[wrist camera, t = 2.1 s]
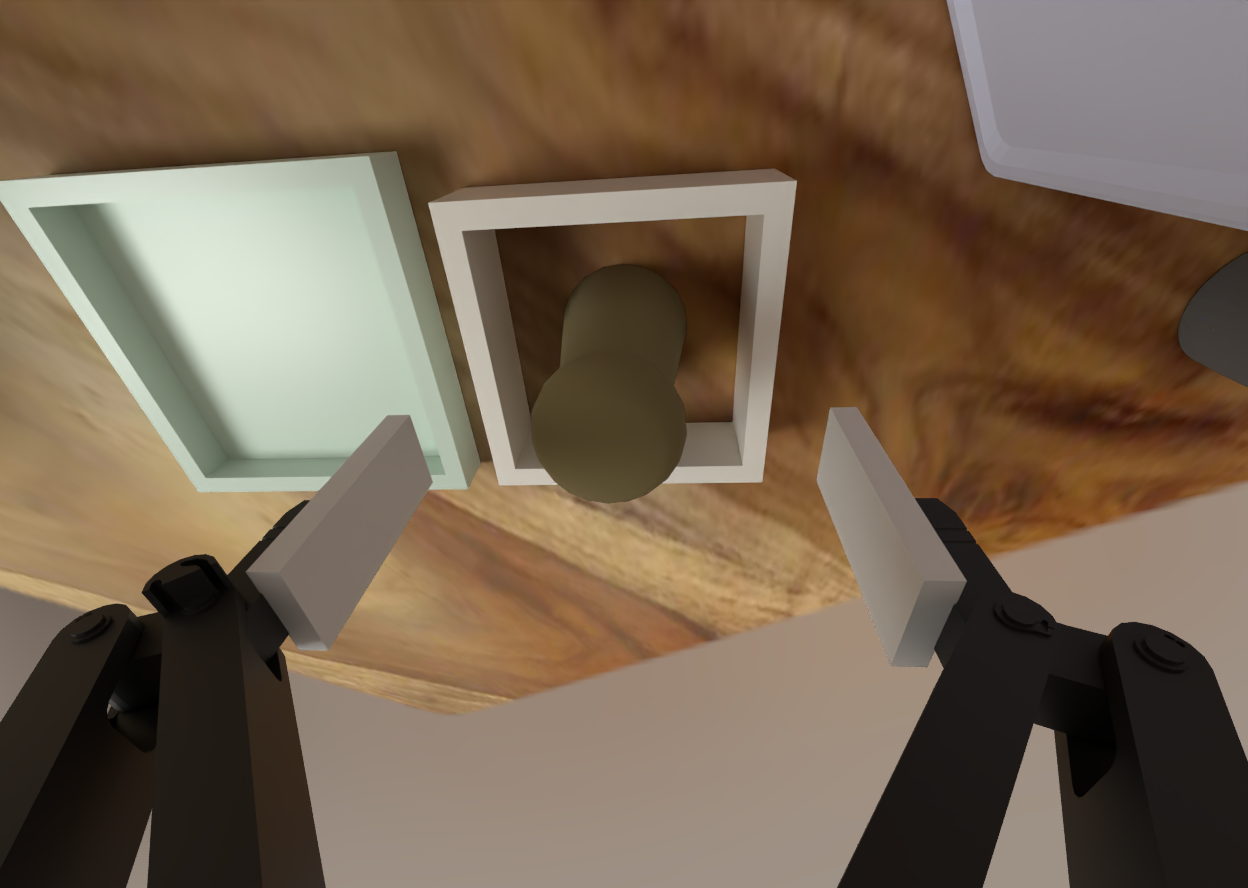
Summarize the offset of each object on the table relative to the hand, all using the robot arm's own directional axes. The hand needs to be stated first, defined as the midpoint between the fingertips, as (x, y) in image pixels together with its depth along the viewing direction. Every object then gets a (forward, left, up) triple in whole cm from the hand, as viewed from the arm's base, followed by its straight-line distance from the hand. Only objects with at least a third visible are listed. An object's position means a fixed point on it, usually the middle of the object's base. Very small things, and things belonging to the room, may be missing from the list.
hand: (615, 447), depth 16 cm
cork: (0, 0, -11) cm, 11 cm away
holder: (0, 0, -10) cm, 10 cm away
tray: (-17, 0, -10) cm, 20 cm away
